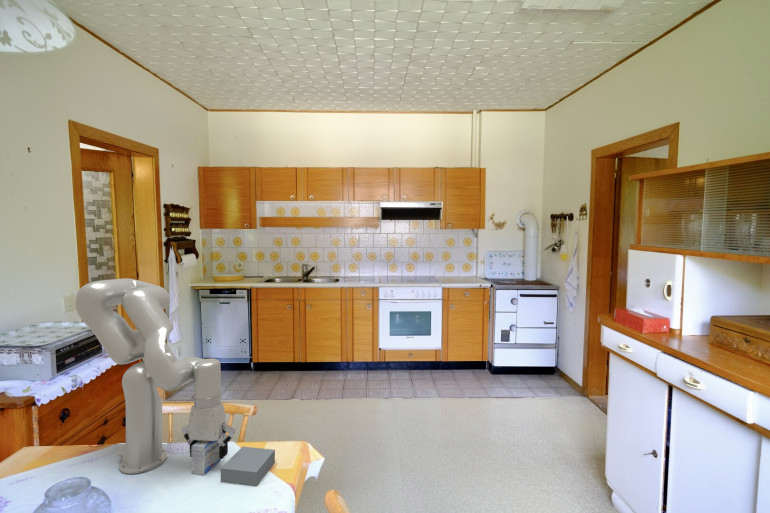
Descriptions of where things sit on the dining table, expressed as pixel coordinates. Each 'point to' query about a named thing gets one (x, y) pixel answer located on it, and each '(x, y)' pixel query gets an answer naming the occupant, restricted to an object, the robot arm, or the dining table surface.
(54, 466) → the dining table surface
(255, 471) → the base block
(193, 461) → the medicine box
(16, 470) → the dining table surface
